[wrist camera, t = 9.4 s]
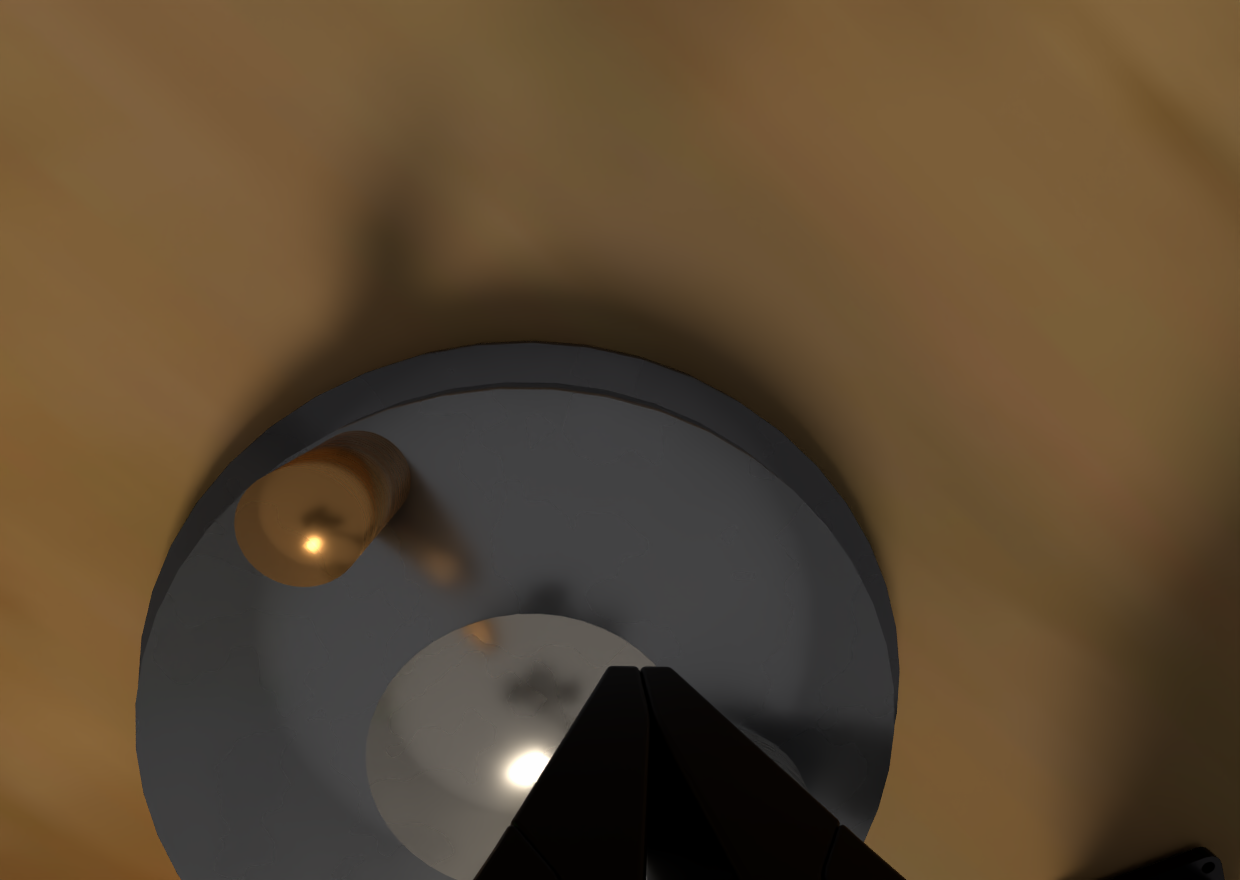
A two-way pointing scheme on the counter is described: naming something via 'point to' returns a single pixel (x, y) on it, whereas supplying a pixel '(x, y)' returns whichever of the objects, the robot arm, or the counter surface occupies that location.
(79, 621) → the counter surface
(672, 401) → the turntable base
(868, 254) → the counter surface
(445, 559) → the turntable
